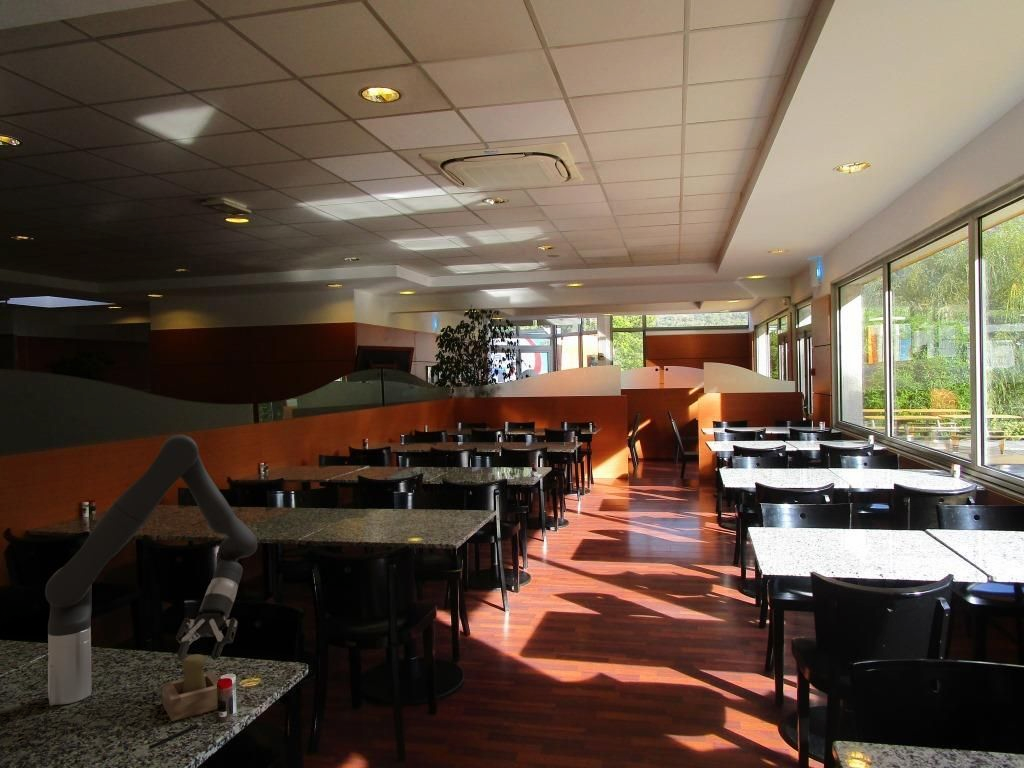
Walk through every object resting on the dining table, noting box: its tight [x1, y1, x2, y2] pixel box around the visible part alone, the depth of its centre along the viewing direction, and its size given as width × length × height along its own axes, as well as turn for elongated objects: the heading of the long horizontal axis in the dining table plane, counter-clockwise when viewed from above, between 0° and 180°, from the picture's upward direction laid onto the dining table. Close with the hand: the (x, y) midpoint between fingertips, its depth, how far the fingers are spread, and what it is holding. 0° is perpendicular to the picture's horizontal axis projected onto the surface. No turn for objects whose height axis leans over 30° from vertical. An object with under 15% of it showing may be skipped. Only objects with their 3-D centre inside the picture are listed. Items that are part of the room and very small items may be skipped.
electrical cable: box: [148, 722, 203, 750], centre depth 155 cm, size 12×1×1 cm, turn 148°
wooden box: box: [161, 671, 220, 722], centre depth 171 cm, size 12×12×5 cm
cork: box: [181, 653, 206, 694], centre depth 171 cm, size 6×6×11 cm
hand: (197, 658), depth 173 cm, fingers open, 8 cm apart
